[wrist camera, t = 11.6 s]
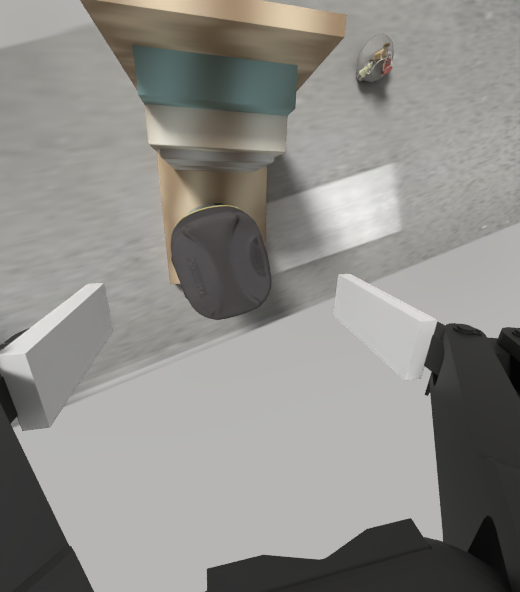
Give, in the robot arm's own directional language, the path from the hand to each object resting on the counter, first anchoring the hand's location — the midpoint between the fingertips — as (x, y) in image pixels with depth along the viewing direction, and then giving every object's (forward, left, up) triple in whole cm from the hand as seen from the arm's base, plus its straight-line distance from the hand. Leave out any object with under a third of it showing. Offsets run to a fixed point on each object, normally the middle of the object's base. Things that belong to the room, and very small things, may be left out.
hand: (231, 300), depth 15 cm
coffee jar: (0, 0, -25) cm, 25 cm away
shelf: (0, +4, -26) cm, 27 cm away
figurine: (+21, +22, -27) cm, 41 cm away
